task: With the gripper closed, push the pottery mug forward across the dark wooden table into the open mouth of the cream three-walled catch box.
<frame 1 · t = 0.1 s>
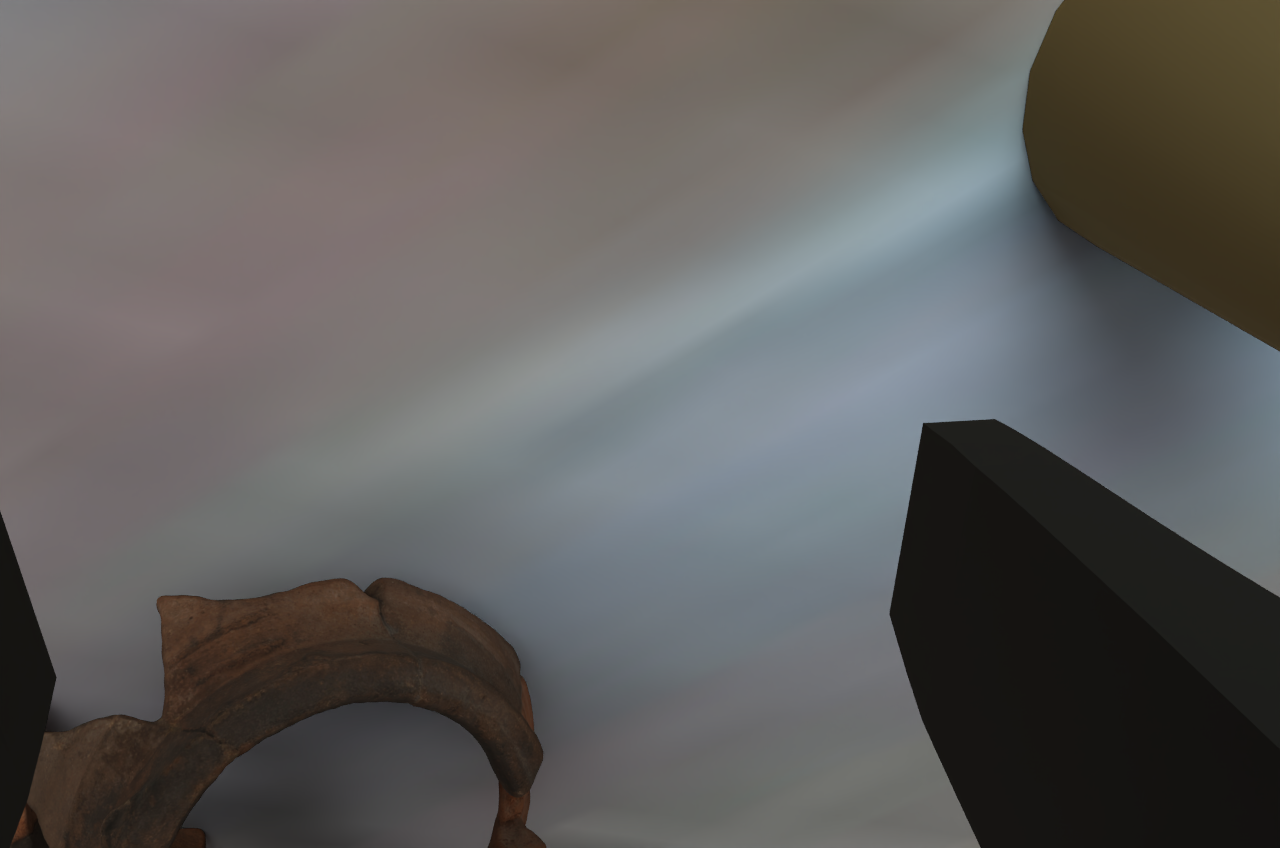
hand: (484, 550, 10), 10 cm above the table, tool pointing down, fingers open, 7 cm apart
pottery mug: (287, 720, 24), on the table
cork: (1198, 80, 19), on the table
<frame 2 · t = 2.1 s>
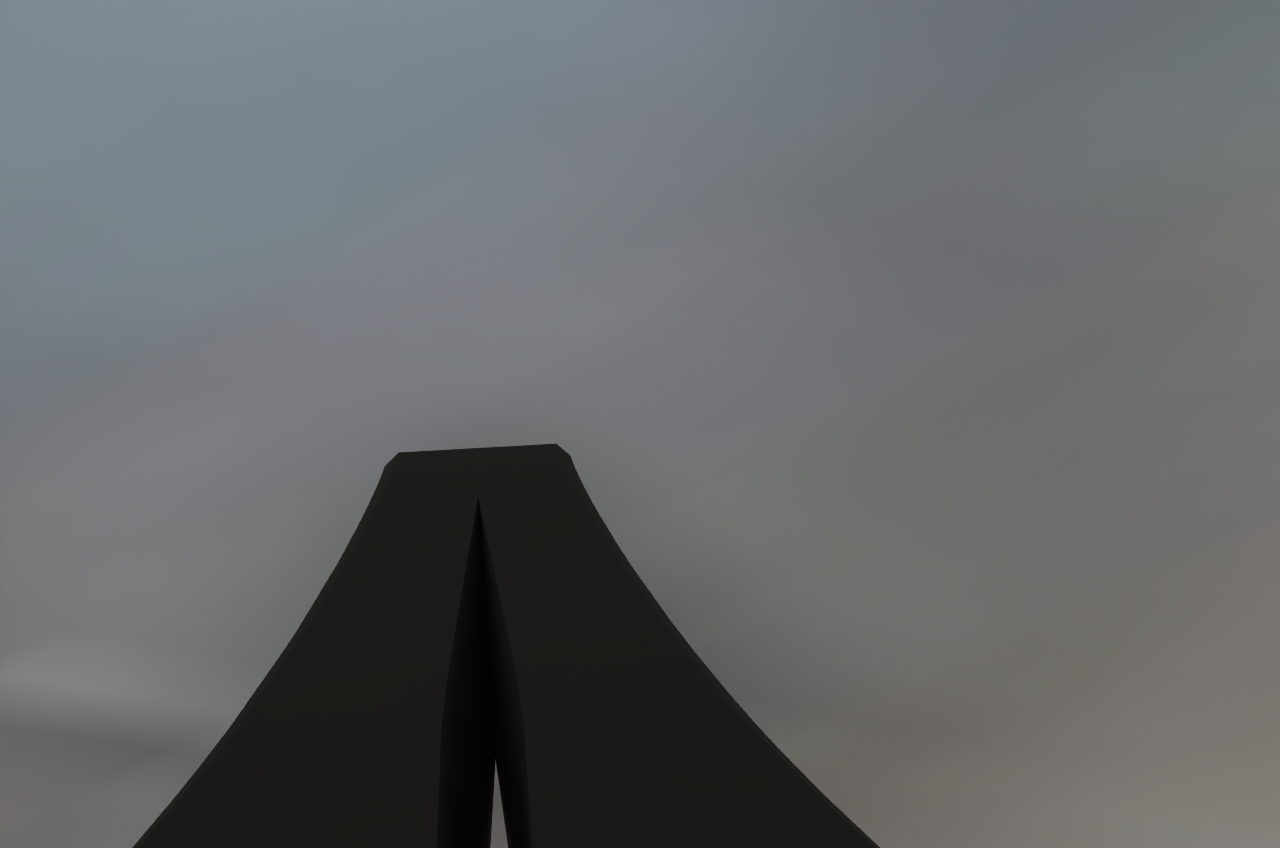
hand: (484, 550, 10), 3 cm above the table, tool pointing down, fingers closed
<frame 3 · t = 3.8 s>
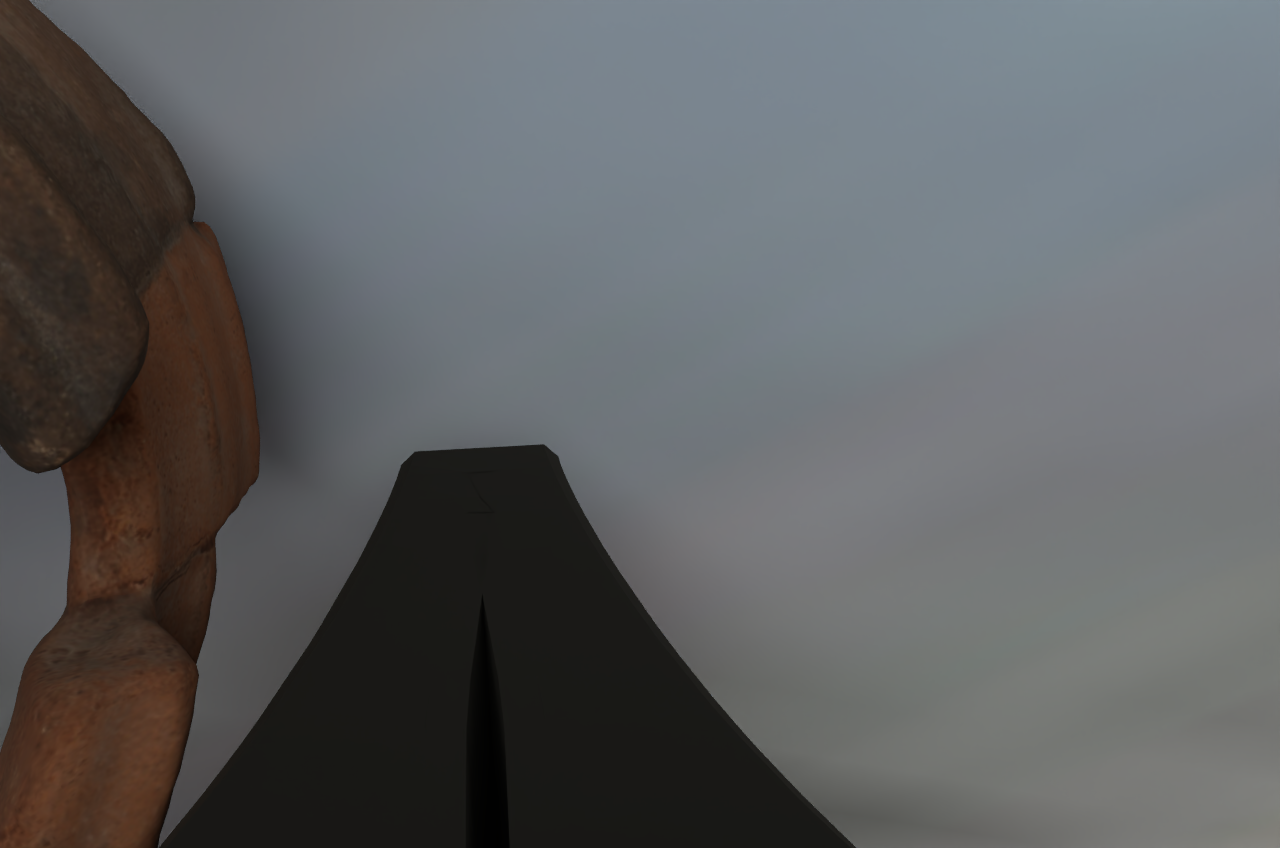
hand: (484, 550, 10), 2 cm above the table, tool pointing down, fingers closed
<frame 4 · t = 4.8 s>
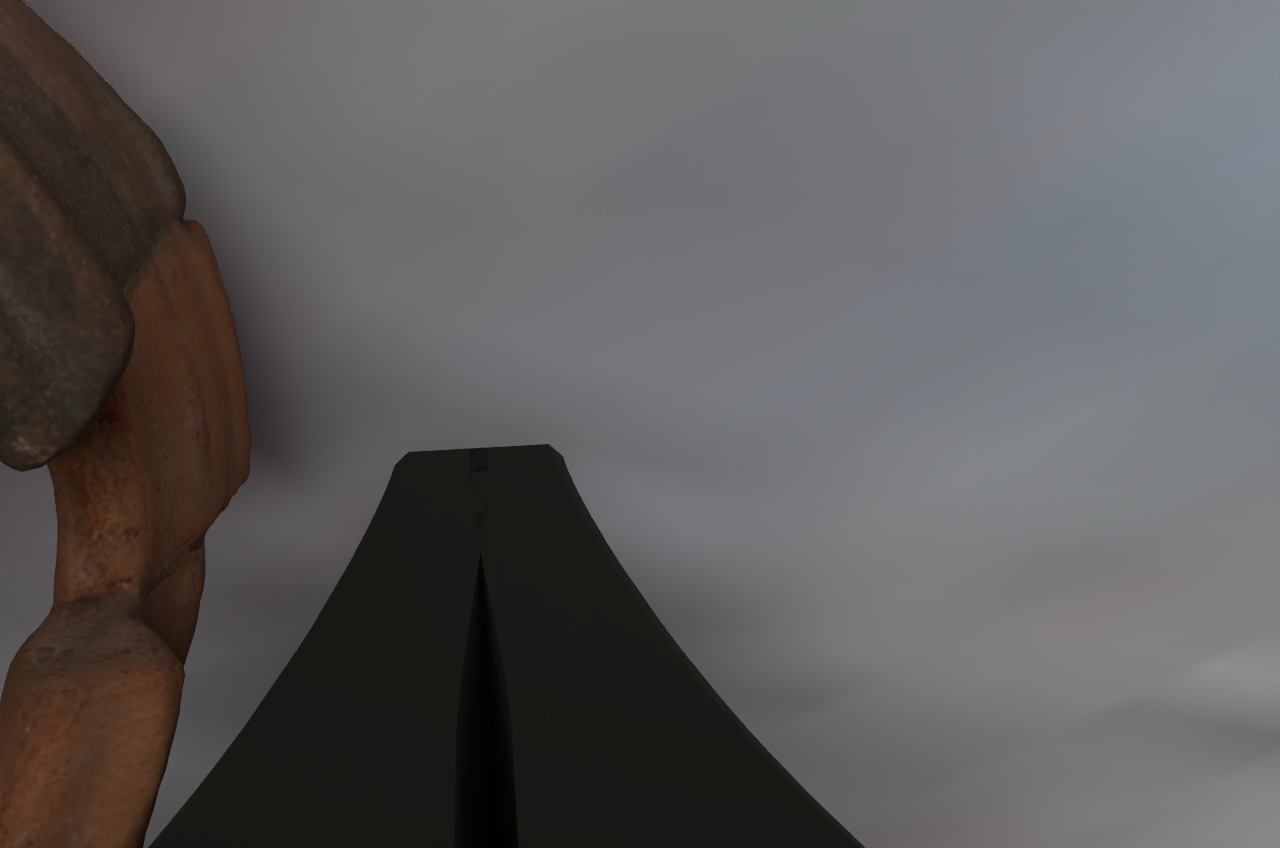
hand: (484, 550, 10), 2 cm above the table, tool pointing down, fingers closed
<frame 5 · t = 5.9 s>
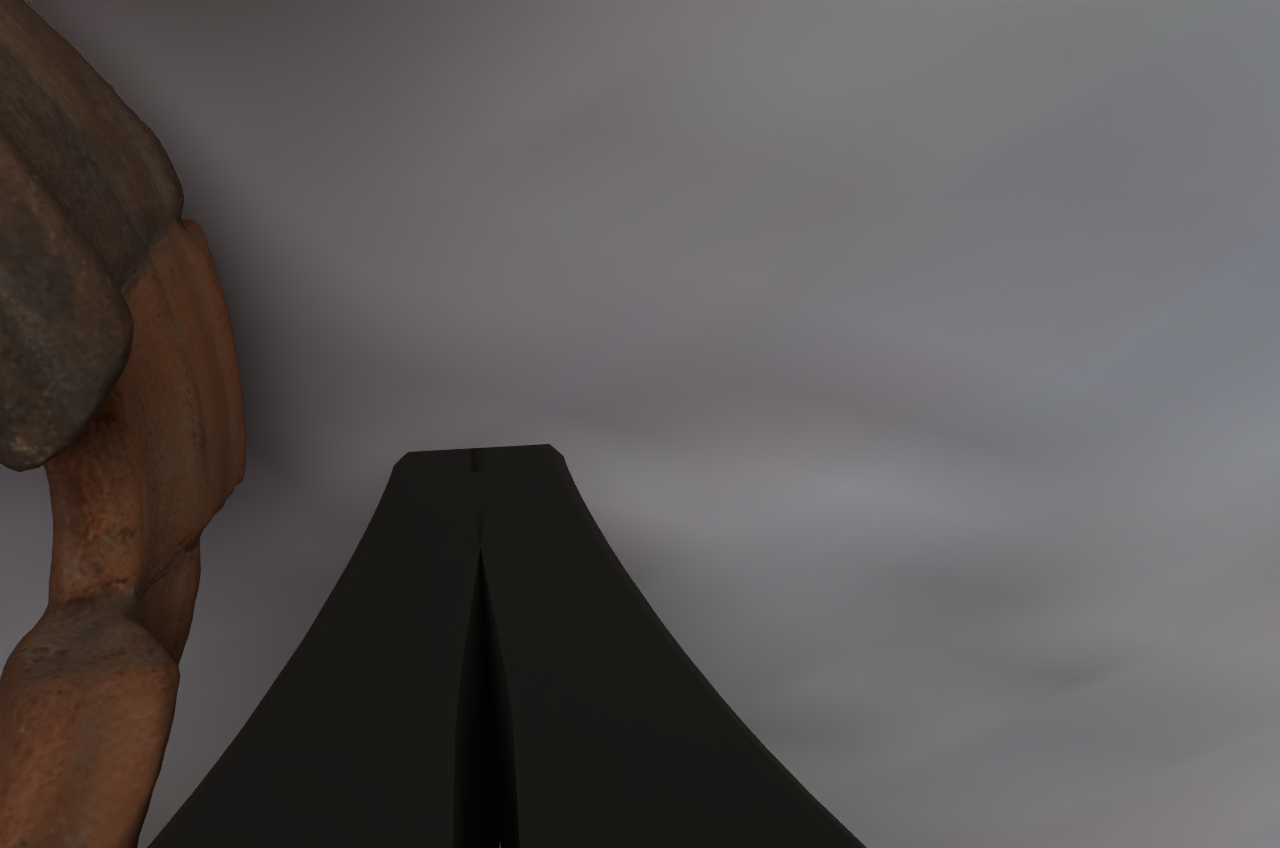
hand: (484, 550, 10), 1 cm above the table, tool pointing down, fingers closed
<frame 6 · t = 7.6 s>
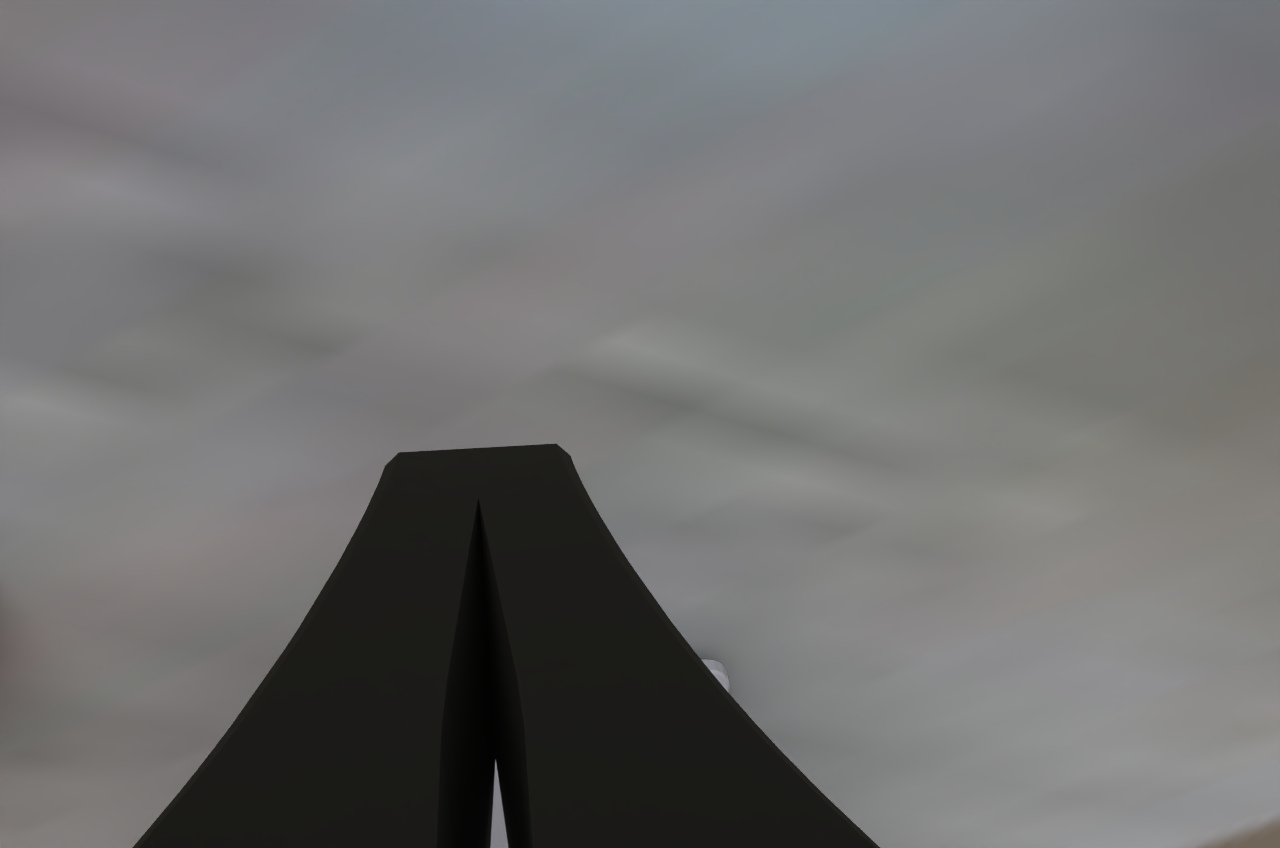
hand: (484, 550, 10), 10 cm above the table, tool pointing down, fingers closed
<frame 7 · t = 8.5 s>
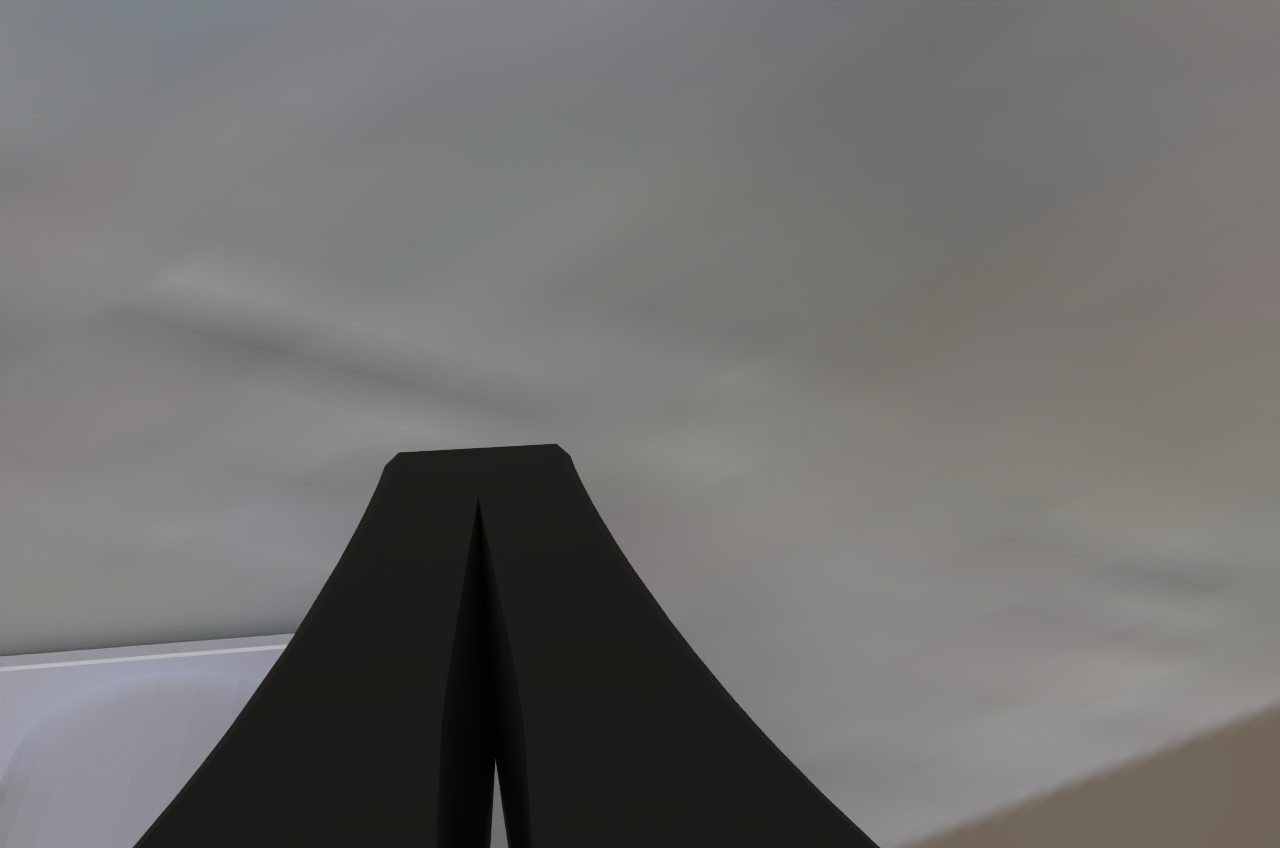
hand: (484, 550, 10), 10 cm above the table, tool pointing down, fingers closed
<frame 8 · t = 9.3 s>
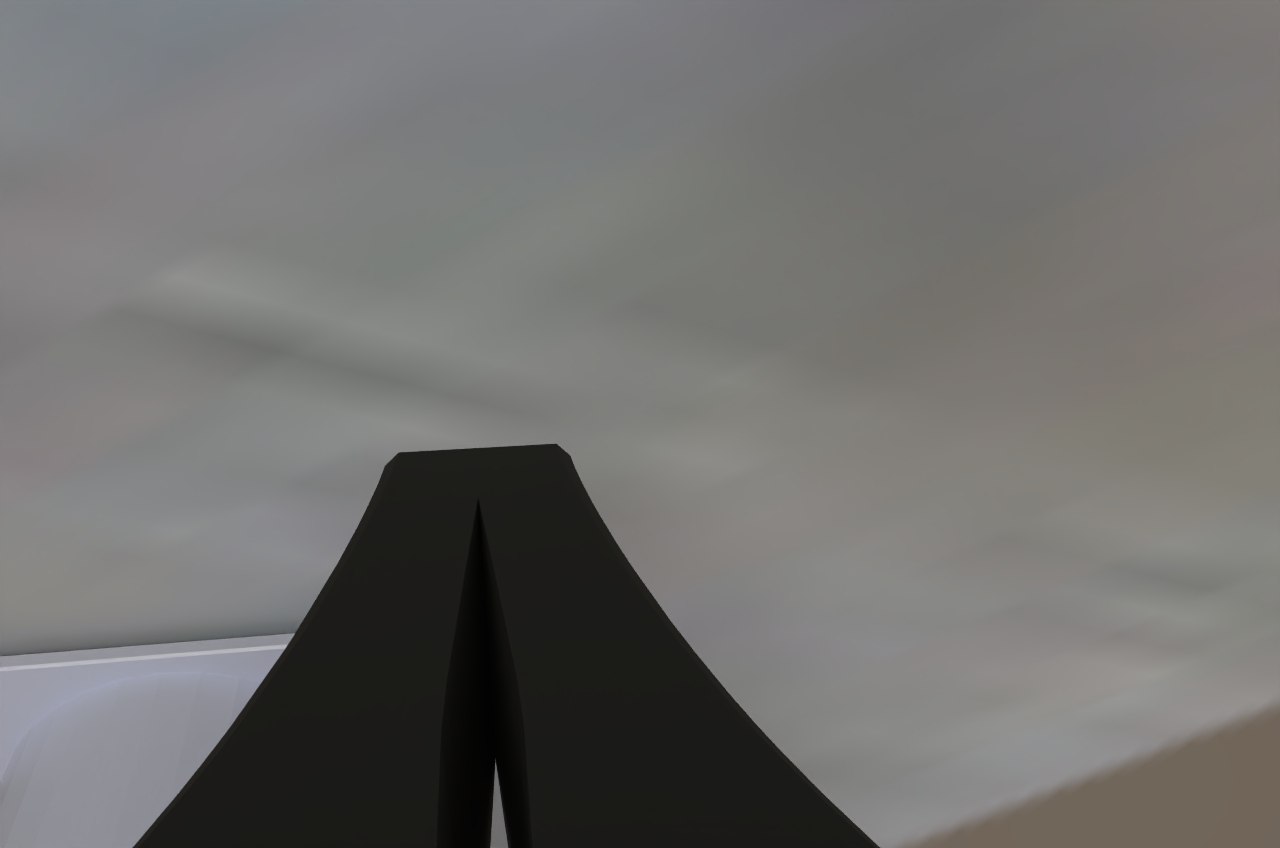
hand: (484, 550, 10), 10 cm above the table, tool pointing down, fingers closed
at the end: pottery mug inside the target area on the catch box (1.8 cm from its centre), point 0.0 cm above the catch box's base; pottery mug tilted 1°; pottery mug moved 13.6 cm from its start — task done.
